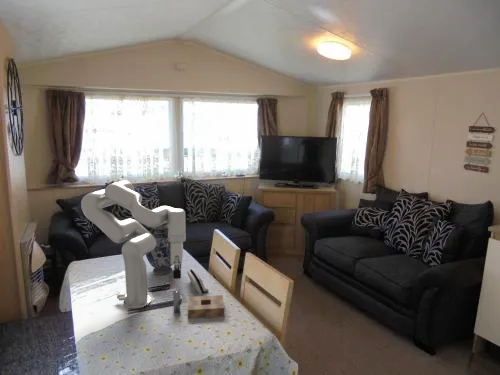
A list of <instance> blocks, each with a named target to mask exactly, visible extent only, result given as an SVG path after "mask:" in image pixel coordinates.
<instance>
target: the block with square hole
mask: <svg viewBox="0 0 500 375" xmlns="http://www.w3.org/2000/svg"><path fill="white" fill-rule="evenodd" d="M187 297H188V298H187V300H188V301H187V319H197V318H198V319H200V318H217V317H225V305H224V296H223V294H219V295H204V296H203V295H201V296H200V295H199V296H198V295H197V296H187Z"/></svg>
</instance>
